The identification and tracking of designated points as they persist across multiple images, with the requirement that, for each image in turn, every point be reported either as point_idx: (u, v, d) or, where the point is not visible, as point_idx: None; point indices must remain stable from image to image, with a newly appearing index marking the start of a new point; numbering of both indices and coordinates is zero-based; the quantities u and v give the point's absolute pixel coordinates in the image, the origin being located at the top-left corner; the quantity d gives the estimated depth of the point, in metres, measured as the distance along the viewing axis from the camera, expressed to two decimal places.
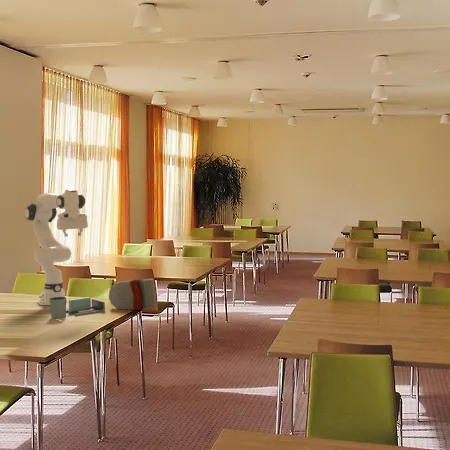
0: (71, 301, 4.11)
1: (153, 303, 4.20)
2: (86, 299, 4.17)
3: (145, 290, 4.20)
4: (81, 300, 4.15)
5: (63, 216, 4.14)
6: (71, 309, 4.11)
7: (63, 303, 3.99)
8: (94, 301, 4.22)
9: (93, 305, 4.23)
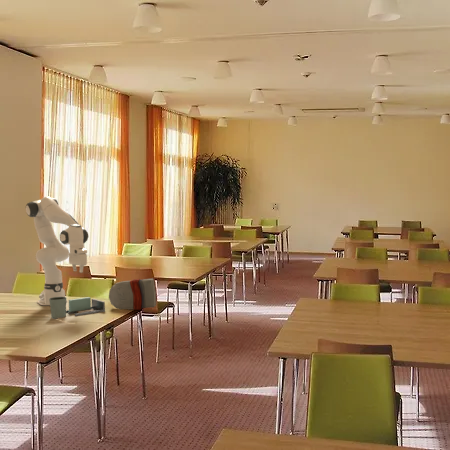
0: (71, 301, 4.11)
1: (153, 303, 4.20)
2: (86, 299, 4.17)
3: (145, 290, 4.20)
4: (81, 300, 4.15)
5: None
6: (71, 309, 4.11)
7: (63, 303, 3.99)
8: (94, 301, 4.22)
9: (93, 305, 4.23)
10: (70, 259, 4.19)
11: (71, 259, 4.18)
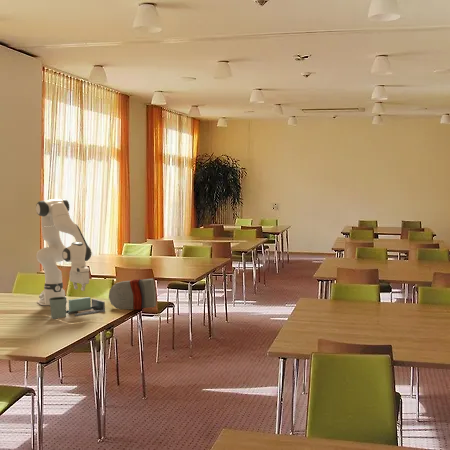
0: (71, 301, 4.11)
1: (153, 303, 4.20)
2: (86, 299, 4.17)
3: (145, 290, 4.20)
4: (81, 300, 4.15)
5: None
6: (71, 309, 4.11)
7: (63, 303, 3.99)
8: (94, 301, 4.22)
9: (93, 305, 4.23)
10: (71, 277, 4.19)
11: (72, 277, 4.18)
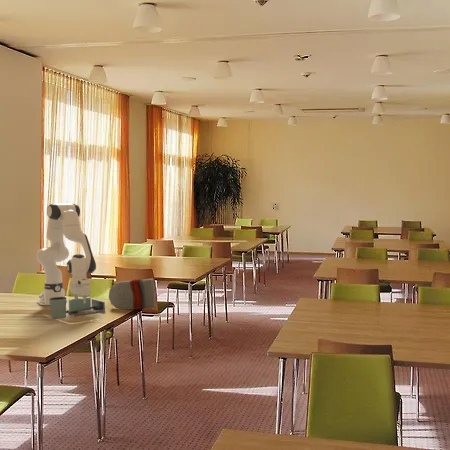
0: (71, 301, 4.11)
1: (153, 303, 4.20)
2: (86, 299, 4.17)
3: (145, 290, 4.20)
4: (81, 300, 4.15)
5: None
6: (71, 309, 4.11)
7: (63, 303, 3.99)
8: (94, 301, 4.22)
9: (93, 305, 4.23)
10: (72, 289, 4.19)
11: (73, 289, 4.18)
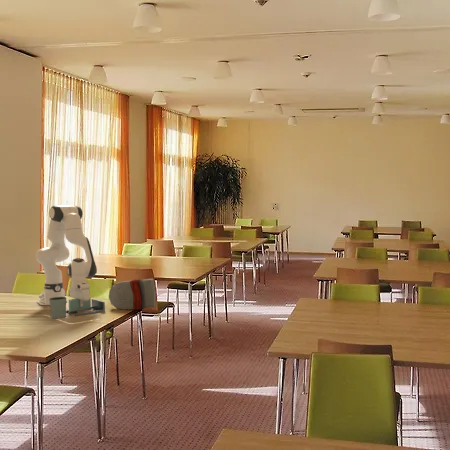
0: (71, 301, 4.11)
1: (153, 303, 4.20)
2: None
3: (145, 290, 4.20)
4: None
5: None
6: (71, 309, 4.11)
7: (63, 303, 3.99)
8: (94, 301, 4.22)
9: (93, 305, 4.23)
10: (71, 293, 4.20)
11: (72, 293, 4.18)
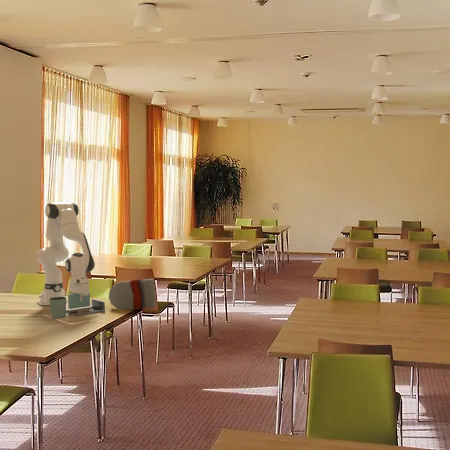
0: (70, 295, 4.10)
1: (153, 303, 4.20)
2: None
3: (145, 290, 4.20)
4: None
5: None
6: (70, 303, 4.11)
7: (63, 303, 3.99)
8: (94, 301, 4.22)
9: (93, 305, 4.23)
10: (71, 287, 4.19)
11: (72, 287, 4.18)
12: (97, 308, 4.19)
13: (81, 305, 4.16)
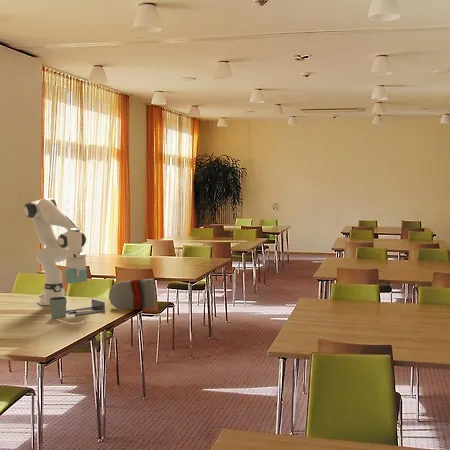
0: (67, 270, 4.12)
1: (153, 303, 4.20)
2: None
3: (145, 290, 4.20)
4: None
5: None
6: (67, 278, 4.13)
7: (63, 303, 3.99)
8: (94, 301, 4.22)
9: (93, 305, 4.23)
10: (67, 263, 4.21)
11: (69, 263, 4.20)
12: (97, 308, 4.19)
13: (78, 280, 4.17)
